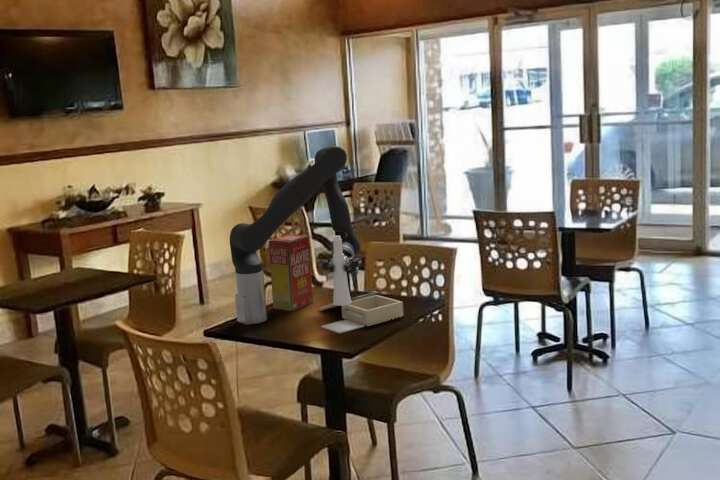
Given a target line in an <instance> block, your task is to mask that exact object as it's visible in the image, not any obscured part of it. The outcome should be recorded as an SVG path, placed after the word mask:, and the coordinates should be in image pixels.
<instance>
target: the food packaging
mask: <svg viewBox="0 0 720 480" xmlns="http://www.w3.org/2000/svg"><path fill="white" fill-rule="evenodd" d="M310 249H311V248H310V235H308V234H296V233H295V234H294V233H291V234H290V233H289V234H287V235H283V236H281V237H277V238H274V239H269V240H268V250H269V266H270V280H271V281H270V282H271V294H272V296H271V297H272V309H273V310H280V311H289V312H294V311H296V310H298V309H301V308H304V307H306V306H308V305H311V304H313V303H314V298H313V297H314V295H313V282H312V281H313V280H312V279H313V278H312V267H311V266H312V264H311V252H310Z"/></svg>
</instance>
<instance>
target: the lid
mask: <svg viewBox="0 0 720 480" xmlns="http://www.w3.org/2000/svg"><path fill="white" fill-rule="evenodd" d="M370 293H371V292H370ZM370 293H368V294H370ZM372 293H374V292H372ZM366 294H367V293H366ZM366 294H364V295H366ZM371 296H374V295H371ZM367 297H370V296H367ZM363 298H366V297H363ZM359 299H362V298H359ZM355 300H358V299H355ZM351 301H354V300H351ZM333 307H337V305H334V304H333V302H332V303H329V304H326V305H322V306H319V310H320V311H321V310H325V309H328V308H329V309H330V308H333Z"/></svg>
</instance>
